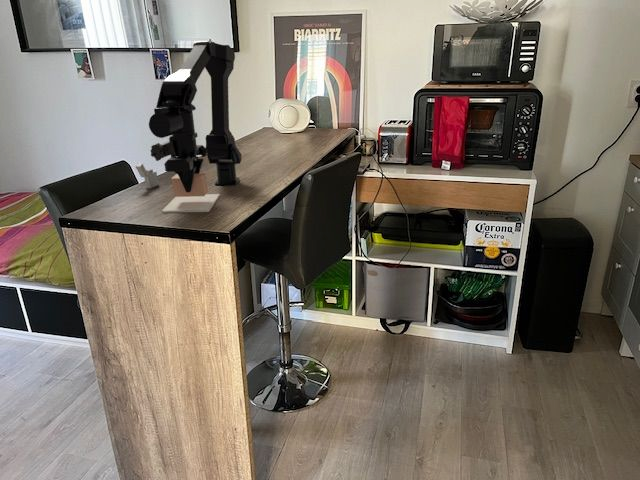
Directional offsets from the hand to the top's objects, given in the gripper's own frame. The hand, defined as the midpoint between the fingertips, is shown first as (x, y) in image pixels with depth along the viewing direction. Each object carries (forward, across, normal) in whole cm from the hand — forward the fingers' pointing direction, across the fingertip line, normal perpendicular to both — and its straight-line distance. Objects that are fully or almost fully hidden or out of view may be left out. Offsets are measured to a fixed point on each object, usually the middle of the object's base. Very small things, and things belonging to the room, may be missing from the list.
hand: (190, 189), depth 133 cm
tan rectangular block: (+1, 0, 0) cm, 1 cm away
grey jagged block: (+4, -17, -18) cm, 25 cm away
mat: (+4, 0, 0) cm, 4 cm away
